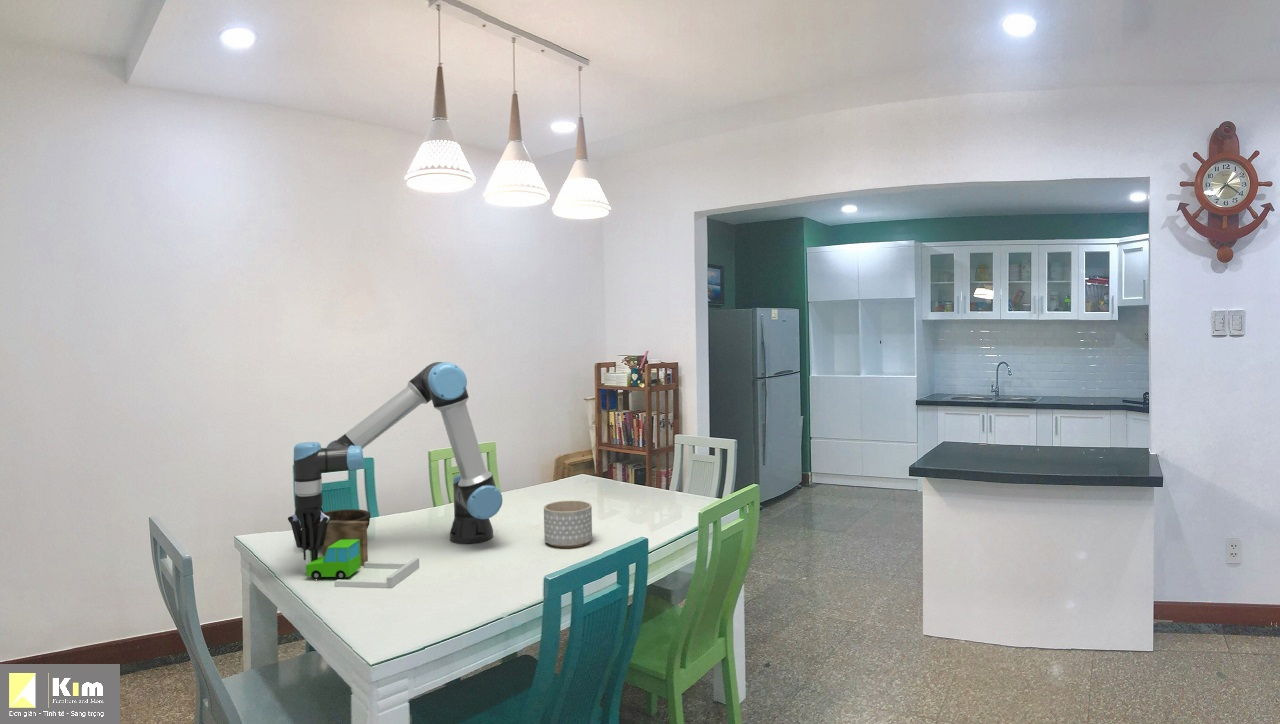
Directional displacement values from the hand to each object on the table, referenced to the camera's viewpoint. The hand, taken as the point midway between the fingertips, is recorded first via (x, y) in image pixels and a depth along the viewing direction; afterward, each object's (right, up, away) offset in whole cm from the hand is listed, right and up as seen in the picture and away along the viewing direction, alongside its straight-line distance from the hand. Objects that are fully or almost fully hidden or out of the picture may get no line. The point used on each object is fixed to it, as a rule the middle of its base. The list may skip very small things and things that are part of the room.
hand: (311, 570), depth 217 cm
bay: (+21, -1, -3) cm, 21 cm away
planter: (+76, +1, +29) cm, 81 cm away
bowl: (-5, -1, +31) cm, 31 cm away
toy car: (+8, -2, -1) cm, 8 cm away
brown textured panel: (+6, -1, +10) cm, 12 cm away
